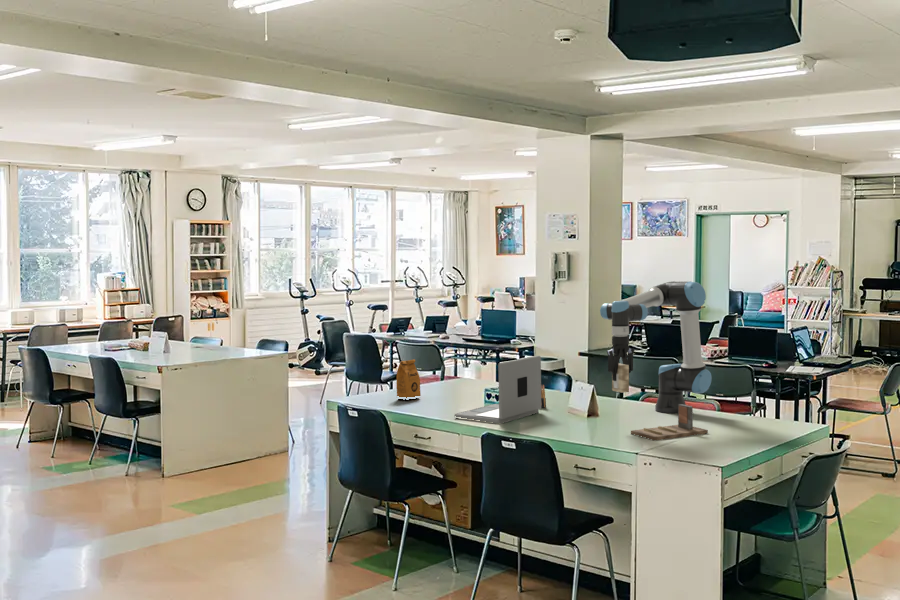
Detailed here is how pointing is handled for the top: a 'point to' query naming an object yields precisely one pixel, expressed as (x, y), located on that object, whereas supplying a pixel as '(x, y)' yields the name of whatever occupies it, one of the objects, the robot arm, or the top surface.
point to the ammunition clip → (543, 397)
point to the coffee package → (408, 379)
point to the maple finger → (622, 378)
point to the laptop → (513, 392)
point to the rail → (673, 427)
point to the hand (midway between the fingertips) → (620, 387)
